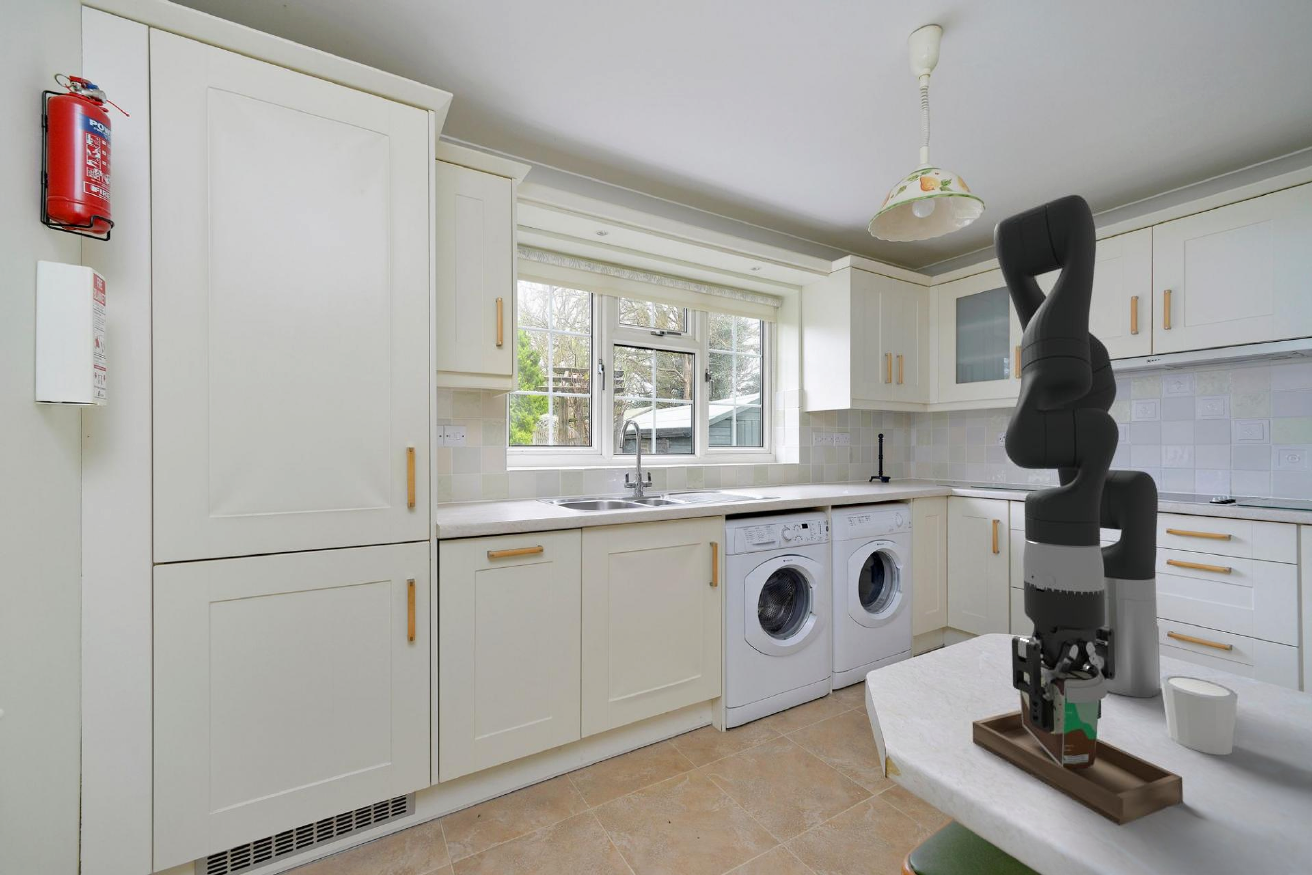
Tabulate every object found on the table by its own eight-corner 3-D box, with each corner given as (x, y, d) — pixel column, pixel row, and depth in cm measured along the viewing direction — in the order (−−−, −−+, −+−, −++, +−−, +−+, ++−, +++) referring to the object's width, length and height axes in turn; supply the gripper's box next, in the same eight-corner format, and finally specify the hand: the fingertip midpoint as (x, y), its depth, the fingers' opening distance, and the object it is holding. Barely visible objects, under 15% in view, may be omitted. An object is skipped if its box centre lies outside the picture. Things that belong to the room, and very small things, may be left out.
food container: (1137, 783, 56) (1134, 686, 56) (1070, 778, 57) (1067, 683, 57) (1071, 723, 68) (1068, 643, 68) (1016, 719, 69) (1014, 641, 70)
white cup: (1226, 763, 63) (1224, 703, 63) (1151, 736, 69) (1150, 681, 69) (1249, 748, 66) (1247, 690, 66) (1175, 723, 72) (1174, 670, 73)
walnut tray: (1029, 726, 72) (1029, 707, 72) (1182, 801, 57) (1182, 777, 57) (972, 741, 68) (972, 721, 68) (1119, 825, 53) (1118, 799, 53)
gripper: (1070, 568, 69) (1073, 698, 69) (987, 578, 64) (990, 718, 64) (1140, 581, 62) (1143, 726, 62) (1052, 594, 57) (1056, 752, 57)
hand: (1066, 722), depth 63 cm, fingers closed on food container, 7 cm apart
